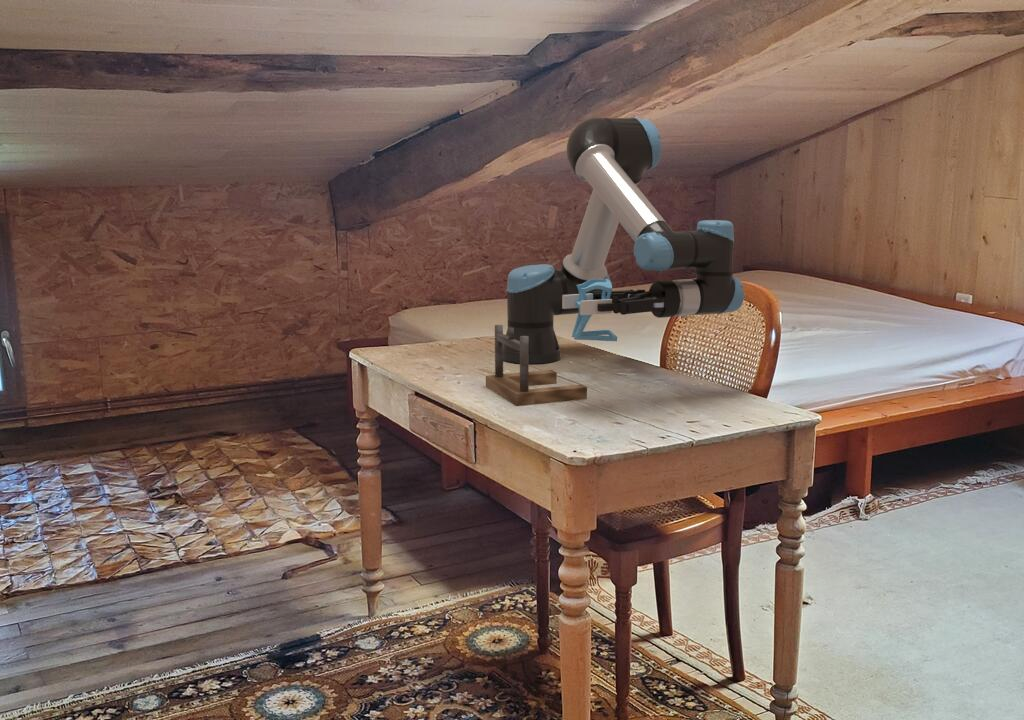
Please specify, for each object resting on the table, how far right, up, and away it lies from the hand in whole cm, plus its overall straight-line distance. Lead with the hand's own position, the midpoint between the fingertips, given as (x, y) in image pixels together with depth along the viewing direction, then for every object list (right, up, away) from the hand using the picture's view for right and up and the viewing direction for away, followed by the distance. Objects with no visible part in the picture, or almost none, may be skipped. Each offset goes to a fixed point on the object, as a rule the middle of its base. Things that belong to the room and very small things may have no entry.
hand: (571, 304), depth 196 cm
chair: (+4, -7, +3) cm, 9 cm away
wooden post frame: (-7, -18, +20) cm, 28 cm away
